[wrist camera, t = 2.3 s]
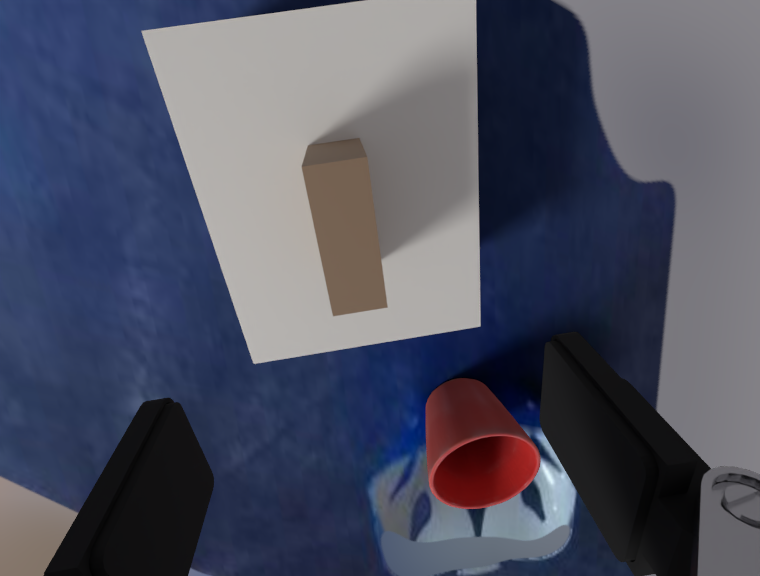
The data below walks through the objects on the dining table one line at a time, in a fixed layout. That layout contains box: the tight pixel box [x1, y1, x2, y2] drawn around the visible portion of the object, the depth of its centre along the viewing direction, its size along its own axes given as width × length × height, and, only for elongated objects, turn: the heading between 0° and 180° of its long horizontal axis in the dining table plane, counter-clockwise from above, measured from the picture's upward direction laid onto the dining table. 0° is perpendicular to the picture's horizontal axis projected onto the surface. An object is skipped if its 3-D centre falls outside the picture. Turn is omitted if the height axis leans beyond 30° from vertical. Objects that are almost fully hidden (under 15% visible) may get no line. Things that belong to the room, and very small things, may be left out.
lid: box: [142, 0, 481, 364], centre depth 24 cm, size 21×17×8 cm
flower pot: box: [426, 378, 540, 509], centre depth 44 cm, size 11×11×10 cm
